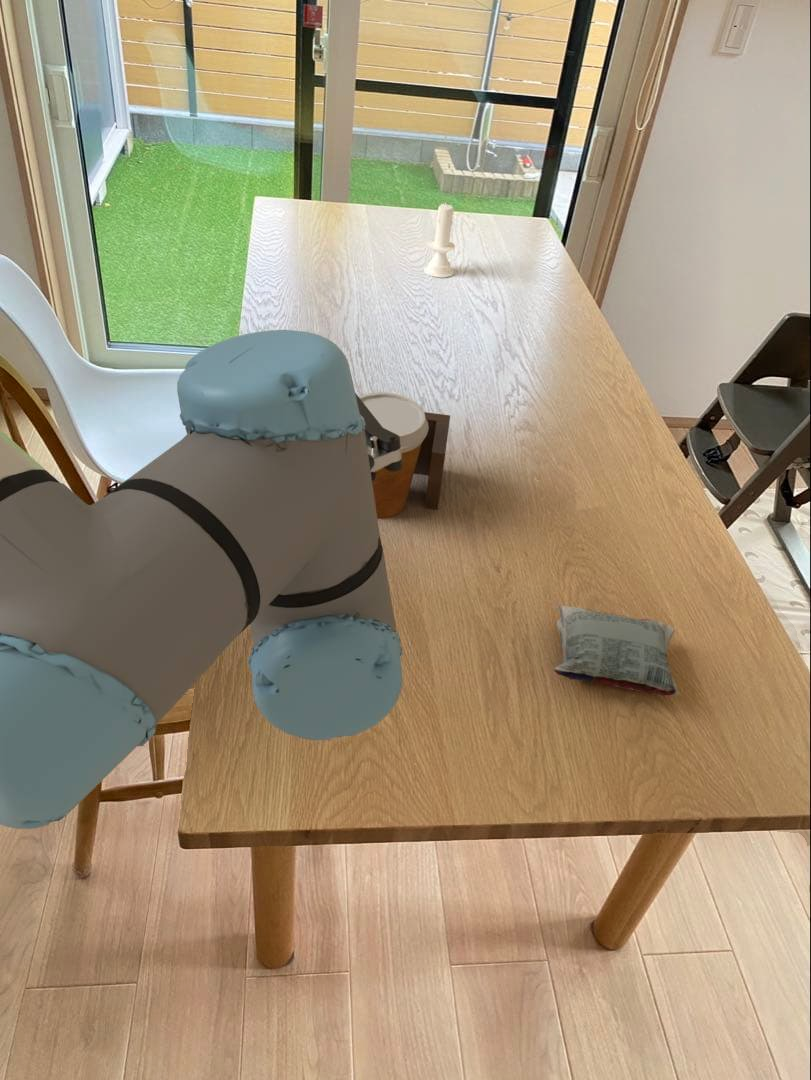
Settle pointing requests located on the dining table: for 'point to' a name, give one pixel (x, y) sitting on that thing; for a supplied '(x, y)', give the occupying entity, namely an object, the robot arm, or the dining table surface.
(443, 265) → the candle
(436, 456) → the corner
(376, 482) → the disposable coffee cup
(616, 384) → the dining table surface
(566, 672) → the packaged food
